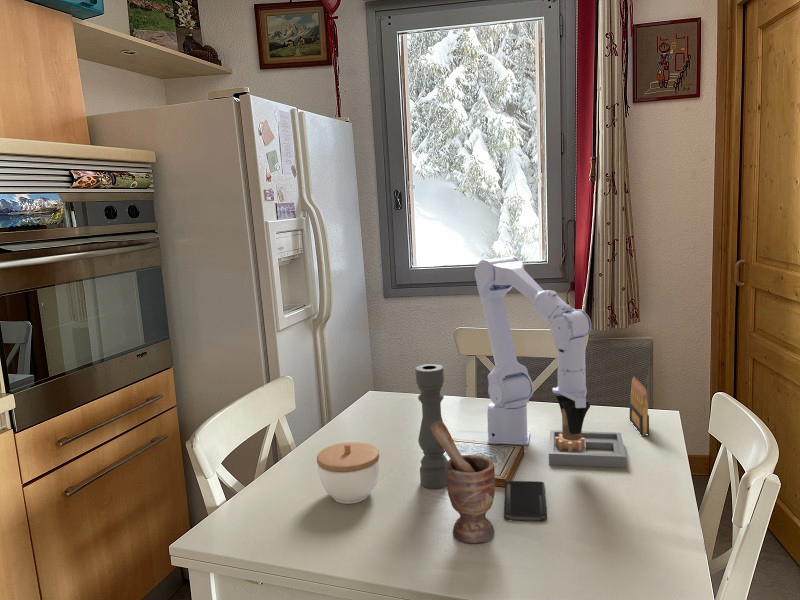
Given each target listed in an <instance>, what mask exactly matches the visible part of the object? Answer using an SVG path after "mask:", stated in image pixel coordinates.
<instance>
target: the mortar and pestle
mask: <svg viewBox="0 0 800 600" xmlns="http://www.w3.org/2000/svg"><path fill="white" fill-rule="evenodd" d="M430 429H431V431H432V433H433V435H434V437H435V438H436V440H437V441H438V442H439V444H440V445H441V446H442V448H443V449H444V453H446V455H447V456H448V457H449V458H450V459H448V461H447V463H446V464H445V470H446V479H447V487H446V488H447V495H448V498H449V500H450V501H449V502H450V503H451V504H450V505H451V507H452V508H453V509H454V510H455V511H456V513H458V514H459V517H458V518H457V519H456V520H455V523H453V528H452V535H453V537H455V539H457V540H458V541H460V542H463V543H467V544H478V543H484V542H485V543H486V542H490V541H491V540H492V539H493V537H494V535H495V528H494V525H493V523H492V522H491V520H490V519H488V517H486V514H487V513H488V511H490V509H491V507H492V506H493V502H494V497H495V494H496V493H495V492H496V476H495V475H496V471H495V463H494V461H493V460H492V459H491V458H489V457H487V456H483V455H476V454H468V455H467V454H466V455H461V452H460V451H459V449H458V448H457V446H456V443H455V441H454V439H453V436H452V435H451V433H450V431H449V429H448V427H447V426H446V424H445V423H444V421H443V422H442V421H441V420H439V421H437V422H435V423H434V424H432V425H431V426H430Z"/></svg>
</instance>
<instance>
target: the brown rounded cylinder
mask: <svg viewBox="0 0 800 600" xmlns="http://www.w3.org/2000/svg"><path fill="white" fill-rule="evenodd" d="M561 425H562V426H561V427H562V430H561V431H562V437H563V438H564V439H566V440H579V439H581V438H582V430H583V429H582V430H581V433H580V434H570V432H569V428H568V421H567V416H566V413H565V410H564V408H563V409H562V413H561Z"/></svg>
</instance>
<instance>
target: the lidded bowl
mask: <svg viewBox="0 0 800 600" xmlns="http://www.w3.org/2000/svg"><path fill="white" fill-rule="evenodd" d="M379 459H380V450H379V449H378V447H377V446H375V445H373V444H370V443H367V442H359V441H352V442H351V441H350V442H342V443H337V444H334V445H332V444H331V445H329V446H327V447H325V448H323V449H321V450H320V451H319V452H318V453H317V455H316V463H317V468H318V469H317V470H318V476H319V480H320V483H321V485H322V488H323V489H324V491H325V493H327V494H328V495H329V496H330V497H331V498H333V500H334V501H335V502H337V503H338V504H343V505H352V504H357V503H361V502H363V501H365V500H367V498H368V497H369V496H370V493H372V491H373V490H374V489H375V487H376V485H377V483H378V480H379V475H380V460H379Z"/></svg>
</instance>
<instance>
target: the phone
mask: <svg viewBox="0 0 800 600" xmlns="http://www.w3.org/2000/svg"><path fill="white" fill-rule="evenodd" d="M506 482H507V483H506ZM506 482H505V487H504V489H505V490H504V506H503V518H504V520H506V521H509V520H512V521H513V522H514V521H515V522H536V523H537V522H538V523H540V522H541V523H542V522H546V521H547V520H548V517H547V516H548V513H547V512H548V509H547V507H548V506H547V501H546V499H547V498H546V488H545V487H546V485H545V483H544V482H542V481H533V480H532V481H529V480H507V481H506Z"/></svg>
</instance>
